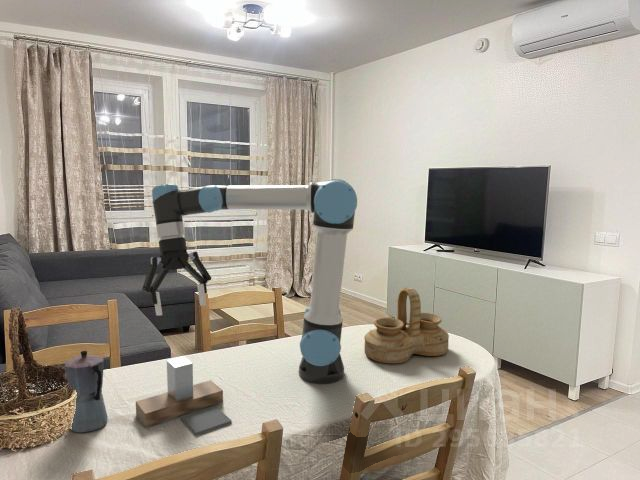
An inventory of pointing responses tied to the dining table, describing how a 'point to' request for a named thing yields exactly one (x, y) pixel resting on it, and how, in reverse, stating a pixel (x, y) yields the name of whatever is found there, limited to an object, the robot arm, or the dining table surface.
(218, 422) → the rubber pad
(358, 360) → the dining table surface
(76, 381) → the moka pot
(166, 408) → the body
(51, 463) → the dining table surface
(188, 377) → the grey rectangular block
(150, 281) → the robot arm
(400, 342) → the ceramic vessel
